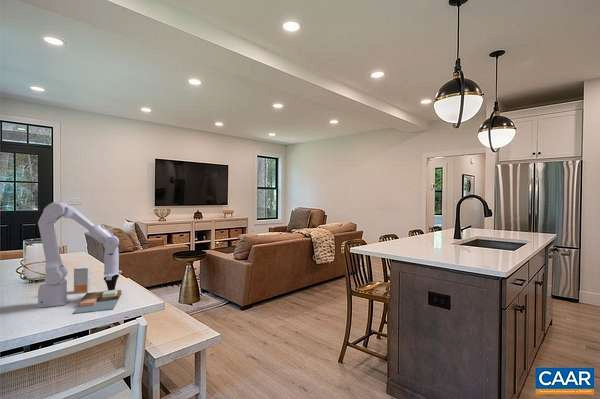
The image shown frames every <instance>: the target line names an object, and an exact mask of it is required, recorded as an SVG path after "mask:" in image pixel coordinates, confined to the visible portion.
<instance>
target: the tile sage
mask: <svg viewBox="0 0 600 399" xmlns="http://www.w3.org/2000/svg"><path fill="white" fill-rule="evenodd" d="M117 290H118V289H115V290H108V289H107V290H104V293H103V294H102V298H103V297H113V296H116V294H117Z"/></svg>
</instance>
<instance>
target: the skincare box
mask: <svg viewBox="0 0 600 399" xmlns="http://www.w3.org/2000/svg"><path fill="white" fill-rule="evenodd" d="M91 274H92V265H85V266H83V265H82V266H76V267H74V268H73V294H81V293H82V294H83V293H90V291H91V290H92V275H91Z"/></svg>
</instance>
